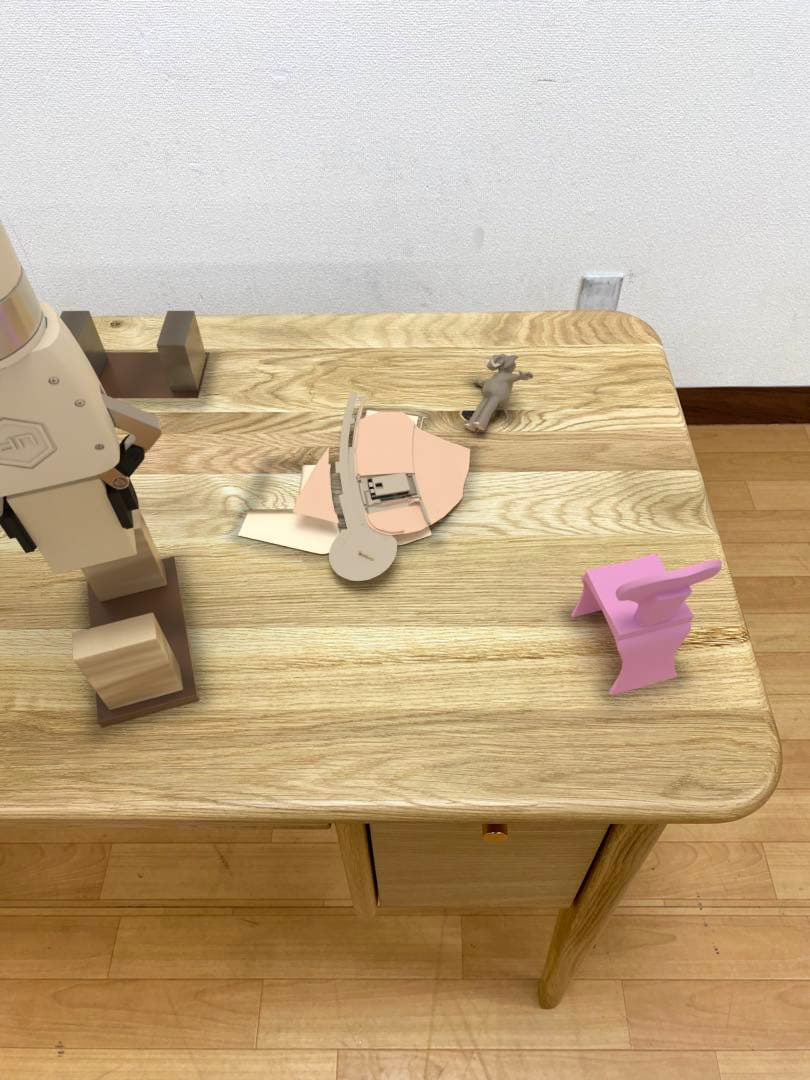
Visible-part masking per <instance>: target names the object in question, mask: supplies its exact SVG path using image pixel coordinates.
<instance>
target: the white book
mask: <svg viewBox="0 0 810 1080" xmlns="http://www.w3.org/2000/svg"><path fill="white" fill-rule="evenodd" d="M106 492H107V488H106V482H105V481H104V480H102V479H101V478H100V477H99V476H97V475H95V476H91V477H87V478H83V479H79V480H74V481H70V482H66V483H61V484H57V485H53V486H48V487H44V488H40V489H35V490H30V491H26V492H21V493H17V494H12V495H7V496H6V500H7V502H8V503H9V505H10V506H11V508H12V509H13V511H14V512H15V514H16V515H17V517H18V518H19V520H20V522H21V523H22V525H23V526H24V528H25V529H26V531H27V532H28V534H29V535H30V537H31V539H32V540H33V542H34V543H35V545H36V546H37V550H38V551H39V553H40V555H41V556H42V557H43V560H45V562H46V563H47V565H48V566H49V568H50V570H51V571H52V573H53V574H54V575H60V574H63V573H68V572H72V571H75V570H76V571H77V570H81V569H80V568H84V567H88V566H93V565H97V564H101V563H105V562H109V561H113V560H117V559H121V558H125V557H129V556H133V555H137V551H136V543H135V535H134V530H133V528H130V529H125V528H122V526H121V524H120V522H119V520H118V518H117V516H116V514H115V512H114V510H113V507H112V505H111V503H110V501H109V499H108V497H107V493H106Z"/></svg>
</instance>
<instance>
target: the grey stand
mask: <svg viewBox="0 0 810 1080" xmlns="http://www.w3.org/2000/svg"><path fill="white" fill-rule="evenodd" d="M60 313H61V314H60V315H59V317H60V318H61V319H62V321H63V322H64V323H65V325H66V326H67V328H68V329H69V330H70V332H71V333H72V335H73V336H74V338H75V339H76V341H77V342H78V344H79V346H80V347H81V349H82V351H83V352H84V354H85V356H86V357H87V359H88V361H89V362H90V364H91V366H92V368H93V370H94V371H95V373H96V375H97V377H98V379H99V381H100V383H101V385H102V387H103V389H104V391H105V393H106V395H107V396H109V397H112V398H114V399H199V398H200V397H199V396H200V393H201V389H202V386H203V385H202V384H203V382H204V378H205V374H206V370H207V365H208V361H209V357H210V351H207V352H206V351H205V346H204V343H203V338H202V335H201V330H200V328H199V327H200V326H199V323H198V320H197V315H196V312H195V310H167V311H166V314H165V317H164V320H163V323H162V326H161V329H160V332H159V336H158V339H157V342H156V348H157V352H156V351H152V352H151V351H149V352H148V351H147V352H146V351H141V352H140V351H139V352H138V351H137V352H136V351H134V352H133V351H124V352H123V351H115V352H113V351H112V352H111V351H110V352H109V351H107V352H106V350H105V347H104V345H103V342H102V339H101V337H100V334H99V332H98V329H97V327H96V325H95V321H94V319H93V317H92V315H91V312H90V310H62V311H61V312H60Z"/></svg>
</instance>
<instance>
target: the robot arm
mask: <svg viewBox="0 0 810 1080" xmlns="http://www.w3.org/2000/svg"><path fill="white" fill-rule="evenodd" d="M116 429H118V430H121V431H124V432H126V433H128V434H127V435H126V436H124V438H123V439H122V440H121V441H119V437H118V434H117V430H116ZM162 435H163V430H162V424H161V419H160V417H159V416H157V415H154V414H152V413H150V412H147V411H145V410H143V409H141V408H138V407H135V406H133V405H131V404H128V403H126V402H123V401H122V400H118V399H117V398H112V397H109V396H107V395H106V393H105V391H104V389H103V387H102V385H101V383H100V381H99V379H98V377H97V375H96V373H95V371H94V370H93V368H92V366H91V364H90V362H89V361H88V359H87V357H86V356H85V354H84V352H83V351H82V349H81V347H80V346H79V344H78V342H77V341H76V339H75V338H74V336H73V335H72V333H71V332H70V330H69V329H68V328H67V326H66V325H65V323H64V322H63V321H62V319H61V318H60V315H59V314H58V313H57V312H56V310H55V309H54V308H53V306H51V304H48V303H47V302H44V301H39V300H38V298H37V295H36V293H35V291H34V289H33V287H32V284H31V282H30V280H29V278H28V276H27V273H26V271H25V269H24V267H23V265H22V263H21V261H20V259H19V257H18V255H17V253H16V249H15V248H14V245H13V243H12V241H11V239H10V237H9V234H8V232H7V231H6V227H5V225H4V224H3V221H2V219H1V218H0V527H1V528H2V530H3V531H4V533H5V534H6V536H7V537H8V539H10V540H12V539H15V540H16V541H17V542H18V545H19V546H20V547H21V548H22V550H23V551H24V553H25V554H30V553H33V552H35V551H36V550H38V548H37V546H36V545H35V543H34V542H33V540H32V539H31V537H30V535H29V534H28V532H27V531H26V529H25V528H24V526H23V525H22V523H21V522H20V520H19V518H18V517H17V515H16V514H15V512H14V511H13V509H12V508H11V506H10V505H9V503H8V502H7V500H6V496H7V495H12V494H17V493H21V492H26V491H30V490H35V489H40V488H44V487H48V486H53V485H57V484H61V483H66V482H70V481H74V480H79V479H83V478H87V477H91V476H95V475H97V476H99V477H100V478H101V479H102V480H104V481H105V482H106V488H107V492H106V493H107V497H108V499H109V501H110V503H111V505H112V507H113V510H114V512H115V514H116V516H117V518H118V520H119V522H120V524H121V526H122V528H125V529H130V528H134V525H133V517H132V510H136V509H140V504H139V498H138V495H137V492H136V489H135V486H134V485H133V483H132V480H131V476H133V474H134V473H135V471H136V470H137V469H138V468H139V466H140V465H141V464H142V462H143V461H144V460H145V458H146V453H148V451H151V449H152V448H153V447H154V445H155V444H156V443H157V442H158V440H159V439H160V438H161V437H162Z"/></svg>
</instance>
